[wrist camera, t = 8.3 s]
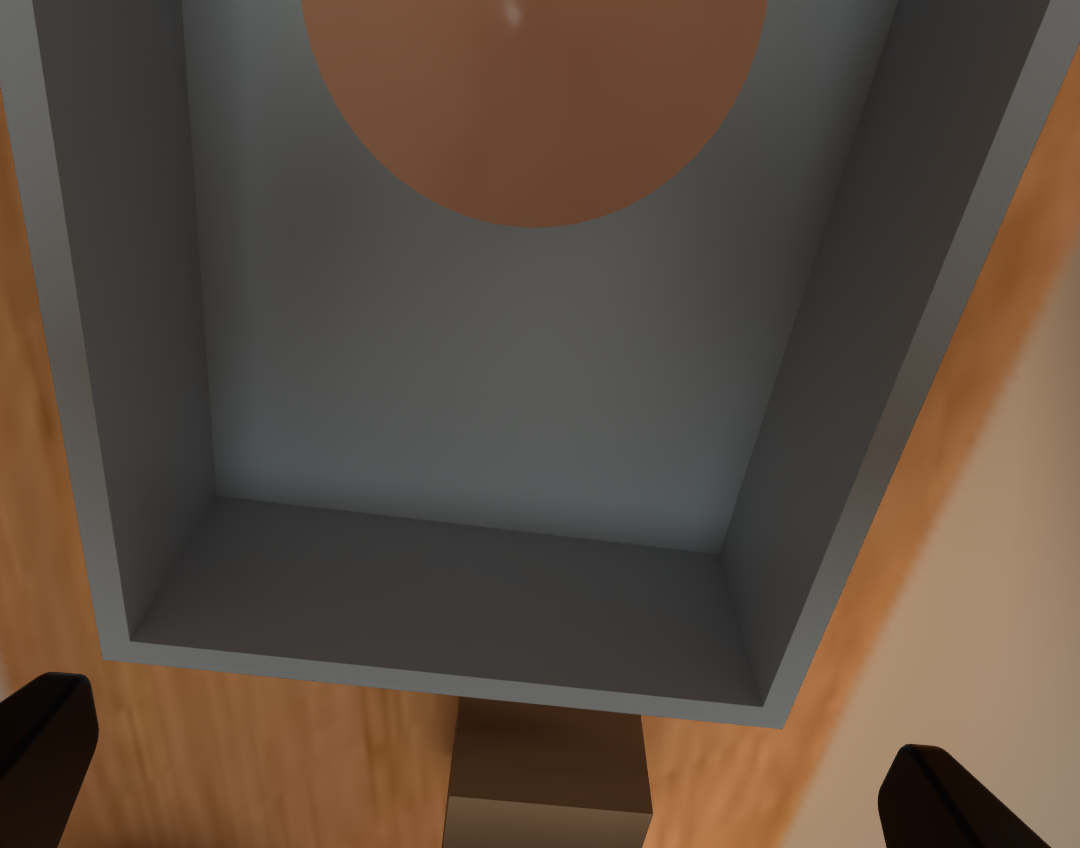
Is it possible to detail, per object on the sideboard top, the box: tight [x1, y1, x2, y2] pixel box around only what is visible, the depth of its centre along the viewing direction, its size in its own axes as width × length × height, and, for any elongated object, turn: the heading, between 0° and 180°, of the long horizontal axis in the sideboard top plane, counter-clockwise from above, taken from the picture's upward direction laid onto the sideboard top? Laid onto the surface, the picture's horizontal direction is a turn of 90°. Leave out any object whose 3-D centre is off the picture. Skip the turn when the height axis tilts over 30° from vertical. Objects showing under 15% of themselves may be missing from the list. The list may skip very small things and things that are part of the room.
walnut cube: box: [442, 696, 653, 848], centre depth 23 cm, size 5×5×5 cm
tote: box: [0, 0, 1080, 729], centre depth 15 cm, size 17×14×6 cm
